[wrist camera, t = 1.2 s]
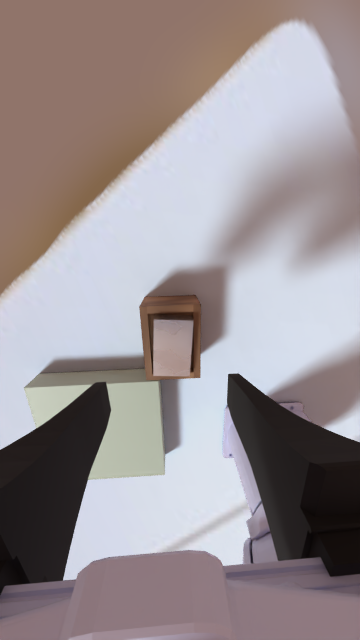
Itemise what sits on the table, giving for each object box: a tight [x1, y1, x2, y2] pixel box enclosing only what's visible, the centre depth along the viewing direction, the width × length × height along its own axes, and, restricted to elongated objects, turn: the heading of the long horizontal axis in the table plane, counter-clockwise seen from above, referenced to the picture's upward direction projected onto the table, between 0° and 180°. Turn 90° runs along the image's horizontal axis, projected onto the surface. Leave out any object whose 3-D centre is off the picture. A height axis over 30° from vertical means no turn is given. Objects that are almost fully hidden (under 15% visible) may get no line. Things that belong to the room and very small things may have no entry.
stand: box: [24, 369, 165, 480], centre depth 24 cm, size 13×13×2 cm
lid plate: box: [153, 314, 193, 376], centre depth 18 cm, size 3×5×2 cm, turn 178°
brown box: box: [139, 295, 201, 380], centre depth 20 cm, size 5×7×4 cm
